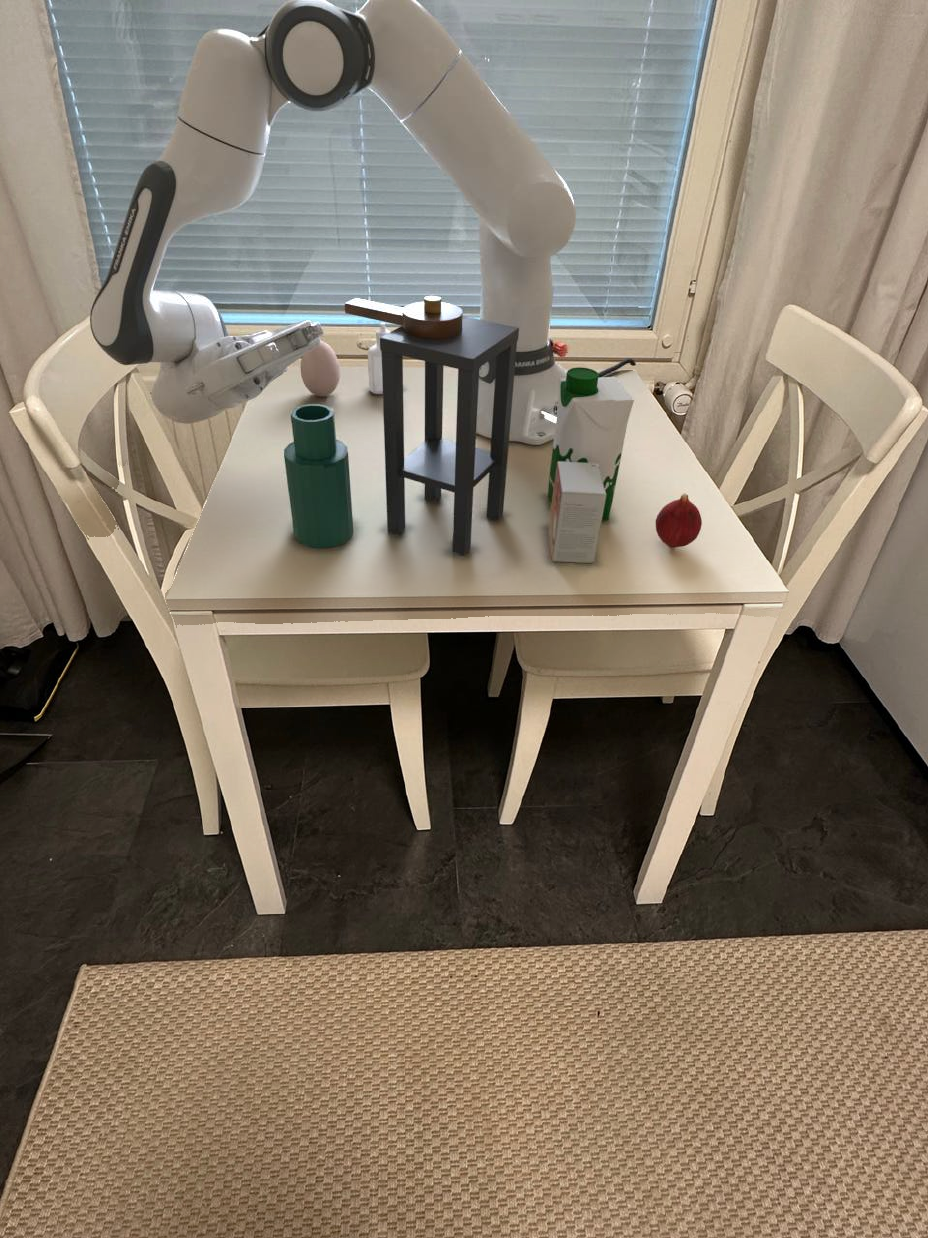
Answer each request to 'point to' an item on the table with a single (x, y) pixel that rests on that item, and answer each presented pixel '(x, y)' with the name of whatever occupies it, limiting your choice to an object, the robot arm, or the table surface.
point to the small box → (576, 512)
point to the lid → (414, 316)
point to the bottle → (318, 479)
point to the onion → (678, 522)
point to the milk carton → (591, 426)
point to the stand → (448, 459)
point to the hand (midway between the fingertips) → (296, 338)
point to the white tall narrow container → (376, 362)
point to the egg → (320, 370)
